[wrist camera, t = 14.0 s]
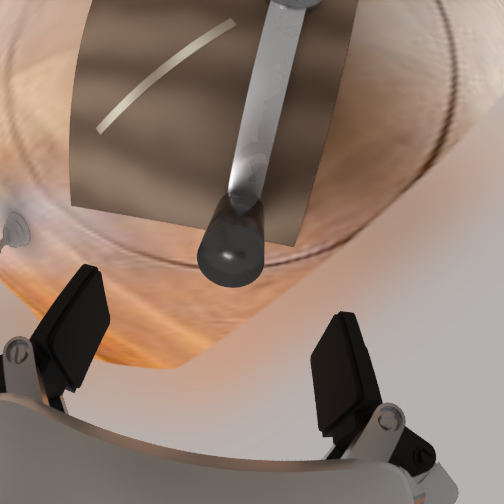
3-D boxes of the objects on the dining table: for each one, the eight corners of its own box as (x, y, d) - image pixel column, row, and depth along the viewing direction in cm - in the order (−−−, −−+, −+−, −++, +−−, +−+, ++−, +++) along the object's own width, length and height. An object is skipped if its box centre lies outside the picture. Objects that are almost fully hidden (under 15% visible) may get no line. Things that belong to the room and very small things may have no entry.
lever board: (118, -36, 11) (108, -43, 9) (355, -21, 12) (363, -29, 10) (81, 198, 24) (70, 206, 22) (292, 236, 25) (294, 248, 23)
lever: (267, -33, 11) (268, -88, 4) (325, -20, 11) (354, -69, 4) (211, 220, 22) (187, 279, 15) (263, 231, 22) (262, 294, 16)
